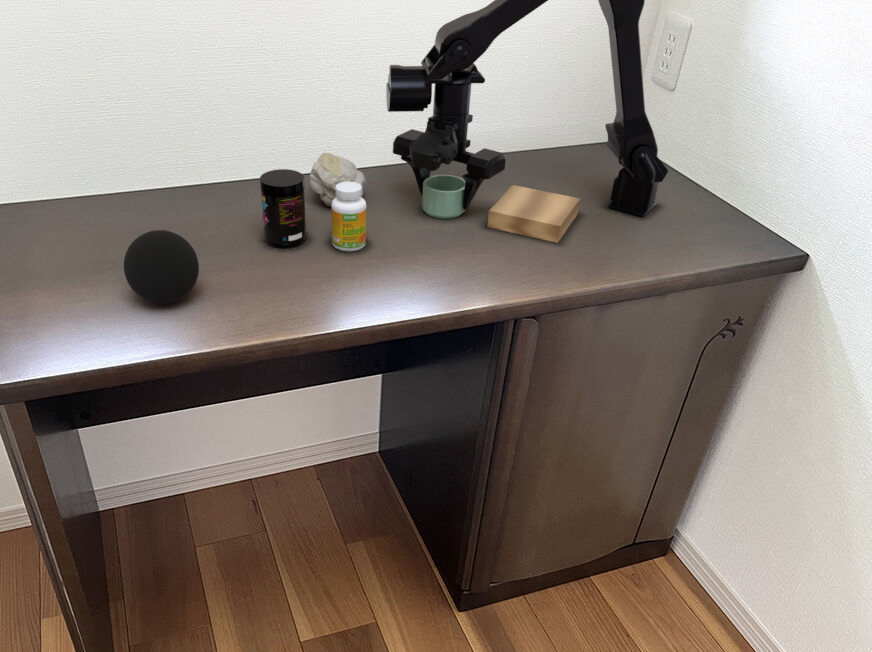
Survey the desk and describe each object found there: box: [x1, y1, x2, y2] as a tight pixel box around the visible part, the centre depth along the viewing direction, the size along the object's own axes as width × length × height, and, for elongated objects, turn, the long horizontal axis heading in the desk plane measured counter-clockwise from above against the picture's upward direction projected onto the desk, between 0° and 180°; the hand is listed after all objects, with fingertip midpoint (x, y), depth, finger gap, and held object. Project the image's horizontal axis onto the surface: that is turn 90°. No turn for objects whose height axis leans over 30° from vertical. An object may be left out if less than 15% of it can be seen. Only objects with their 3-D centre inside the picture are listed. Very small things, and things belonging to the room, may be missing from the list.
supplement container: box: [259, 168, 307, 249], centre depth 124 cm, size 7×7×10 cm
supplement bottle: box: [330, 182, 367, 252], centre depth 124 cm, size 5×5×10 cm
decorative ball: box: [123, 229, 200, 305], centre depth 110 cm, size 10×10×10 cm
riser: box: [486, 184, 581, 244], centre depth 133 cm, size 12×12×3 cm
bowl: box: [421, 174, 466, 220], centre depth 135 cm, size 7×7×5 cm
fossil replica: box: [309, 152, 367, 207], centre depth 137 cm, size 12×8×10 cm
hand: (444, 202), depth 136 cm, fingers open, 8 cm apart
